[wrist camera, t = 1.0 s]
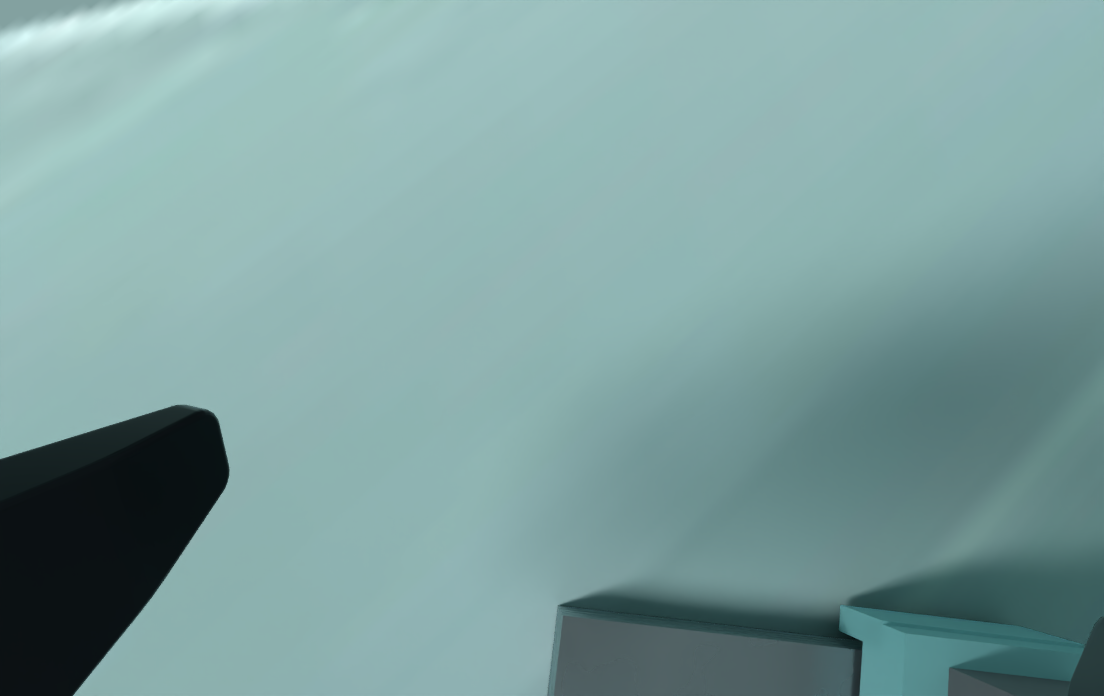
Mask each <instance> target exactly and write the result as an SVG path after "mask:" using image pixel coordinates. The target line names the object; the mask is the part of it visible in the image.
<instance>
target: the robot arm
mask: <svg viewBox="0 0 1104 696" xmlns="http://www.w3.org/2000/svg"><path fill="white" fill-rule="evenodd" d="M228 478H229V464H228V459H227V455H226V451H225V446H224V442H223V438H222V433H221V429H220V425H219V421H218V419H217V417H216V416H215V415H214V413H212V412H211V411H209V410H206V409H202V408H198V407H193V406H189V405H175V406H171V407H168V408H165V409H162V410H158V411H155V412H152V413H149V414H145V415H142V416H139V417H136V418H132V419H129V420H126V421H123V422H119V423H116V424H113V425H110V426H106V427H103V428H100V429H97V430H93V431H90V432H87V433H84V434H81V435H77V436H74V437H71V438H68V439H64V440H61V441H58V442H55V443H51V444H48V445H45V446H42V447H38V448H35V449H32V450H29V451H25V452H22V453H19V454H16V455H12V456H9V457H6V458H3V459H0V696H73V695H74V694H75V692H76V691H77V690H78V689H79V687H80V686H81V685H82V684H83V683H84V681H85V680H86V679H87V678H88V676H89V675H90V674H91V673H92V671H93V670H94V669H95V668H96V666H97V665H98V664H99V663H100V662H101V660H102V659H103V658H104V657H105V655H106V654H107V653H108V652H109V650H110V649H111V648H112V647H113V645H114V644H115V643H116V642H117V641H118V639H119V638H120V637H121V636H122V634H123V633H124V632H125V631H126V629H127V628H128V627H129V626H130V624H131V623H132V622H133V621H134V620H135V618H136V617H137V616H138V615H139V613H140V612H141V611H142V609H143V608H144V607H145V606H146V604H147V603H148V602H149V600H150V599H151V598H152V596H153V595H154V594H155V592H156V591H157V589H158V588H159V587H160V585H161V584H162V582H163V581H164V579H165V578H166V576H167V575H168V573H169V572H170V570H171V569H172V567H173V566H174V564H175V563H176V561H177V560H178V558H179V557H180V555H181V554H182V552H183V551H184V549H185V548H186V546H187V545H188V543H189V542H190V540H191V539H192V537H193V536H194V534H195V533H196V531H197V530H198V528H199V527H200V525H201V524H202V522H203V521H204V519H205V518H206V516H207V515H208V513H209V512H210V510H211V509H212V507H213V506H214V504H215V503H216V501H217V500H218V498H219V497H220V495H221V494H222V492H223V491H224V489H225V487H226V485H227V482H228ZM1067 696H1104V617H1101V618H1100V619H1099V620H1098V621H1097V622H1096V623H1095V625H1094V627H1093V629H1092V631H1091V634H1090V636H1089V638H1088V641H1087V643H1086V645H1085V648H1084V650H1083V652H1082V655H1081V657H1080V659H1079V661H1078V664H1077V666H1076V668H1075V671H1074V673H1073V675H1072V678H1071V681H1070V684H1069V688H1068V695H1067Z"/></svg>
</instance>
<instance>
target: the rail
mask: <svg viewBox="0 0 1104 696" xmlns="http://www.w3.org/2000/svg"><path fill="white" fill-rule="evenodd" d="M862 648H863V641H860V640H851V639H843V638H834V637H825V636H817V635H808V634H800V633H791V632H782V631H774V630H765V629H757V628H748V627H740V626H731V625H722V624H714V623H705V622H697V621H688V620H680V619H671V618H662V617H654V616H645V615H637V614H628V613H619V612H611V611H602V610H594V609H585V608H577V607H568V606H559V605H558V610H557V618H556V627H555V635H554V644H553V652H552V661H551V669H550V678H549V687H548V695H547V696H859V695H860V679H861V663H862Z"/></svg>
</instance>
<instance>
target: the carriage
mask: <svg viewBox="0 0 1104 696" xmlns="http://www.w3.org/2000/svg"><path fill="white" fill-rule="evenodd" d="M839 631H841V632H843V633H845V634H848V635H850V636H852V637H854V638H856V639H858V640H861V641H863V648H862V663H861V679H860V695H859V696H1067V695H1068V688H1069V684H1070V681H1071V678H1072V675H1073V673H1074V671H1075V668H1076V666H1077V664H1078V661H1079V659H1080V657H1081V655H1082V652H1083V650H1084V644H1080V643H1077V642H1073V641H1070V640H1066V639H1063V638H1059V637H1056V636H1053V635H1049V634H1046V633H1042V632H1039V631H1035V630H1032V629H1028V628H1025V627H1022V626H1015V625H1006V624H998V623H989V622H981V621H972V620H964V619H956V618H947V617H939V616H930V615H922V614H913V613H905V612H896V611H888V610H880V609H871V608H863V607H854V606H846V605H841V606H840V621H839Z"/></svg>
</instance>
